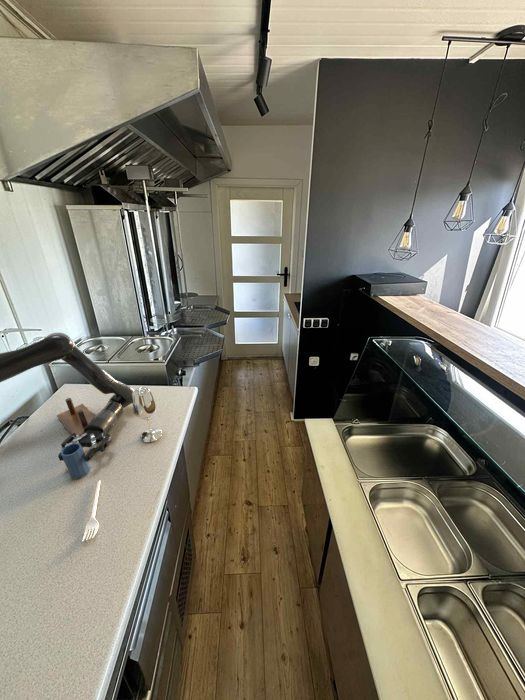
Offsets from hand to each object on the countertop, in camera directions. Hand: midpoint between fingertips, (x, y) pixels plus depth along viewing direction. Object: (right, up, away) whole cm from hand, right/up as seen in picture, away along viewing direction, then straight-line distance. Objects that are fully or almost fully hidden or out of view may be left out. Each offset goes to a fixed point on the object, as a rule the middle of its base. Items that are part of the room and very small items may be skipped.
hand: (72, 459), depth 90 cm
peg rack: (-14, +5, +26) cm, 30 cm away
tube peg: (0, -5, +3) cm, 6 cm away
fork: (+12, -11, -8) cm, 19 cm away
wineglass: (+18, +2, +18) cm, 26 cm away
